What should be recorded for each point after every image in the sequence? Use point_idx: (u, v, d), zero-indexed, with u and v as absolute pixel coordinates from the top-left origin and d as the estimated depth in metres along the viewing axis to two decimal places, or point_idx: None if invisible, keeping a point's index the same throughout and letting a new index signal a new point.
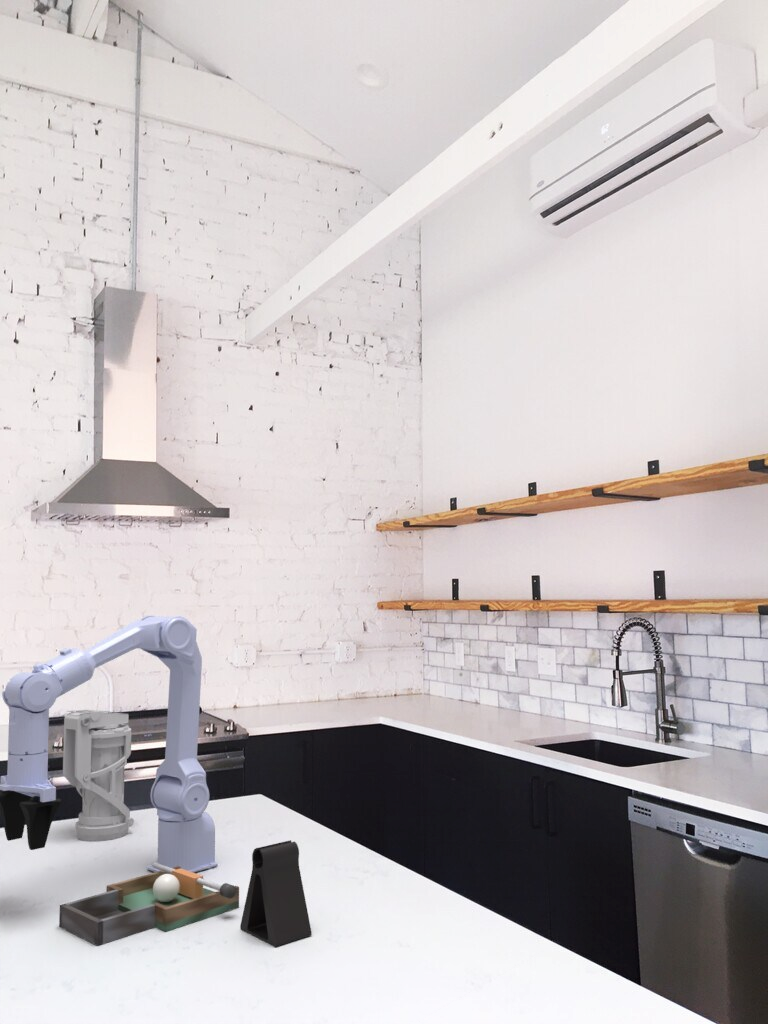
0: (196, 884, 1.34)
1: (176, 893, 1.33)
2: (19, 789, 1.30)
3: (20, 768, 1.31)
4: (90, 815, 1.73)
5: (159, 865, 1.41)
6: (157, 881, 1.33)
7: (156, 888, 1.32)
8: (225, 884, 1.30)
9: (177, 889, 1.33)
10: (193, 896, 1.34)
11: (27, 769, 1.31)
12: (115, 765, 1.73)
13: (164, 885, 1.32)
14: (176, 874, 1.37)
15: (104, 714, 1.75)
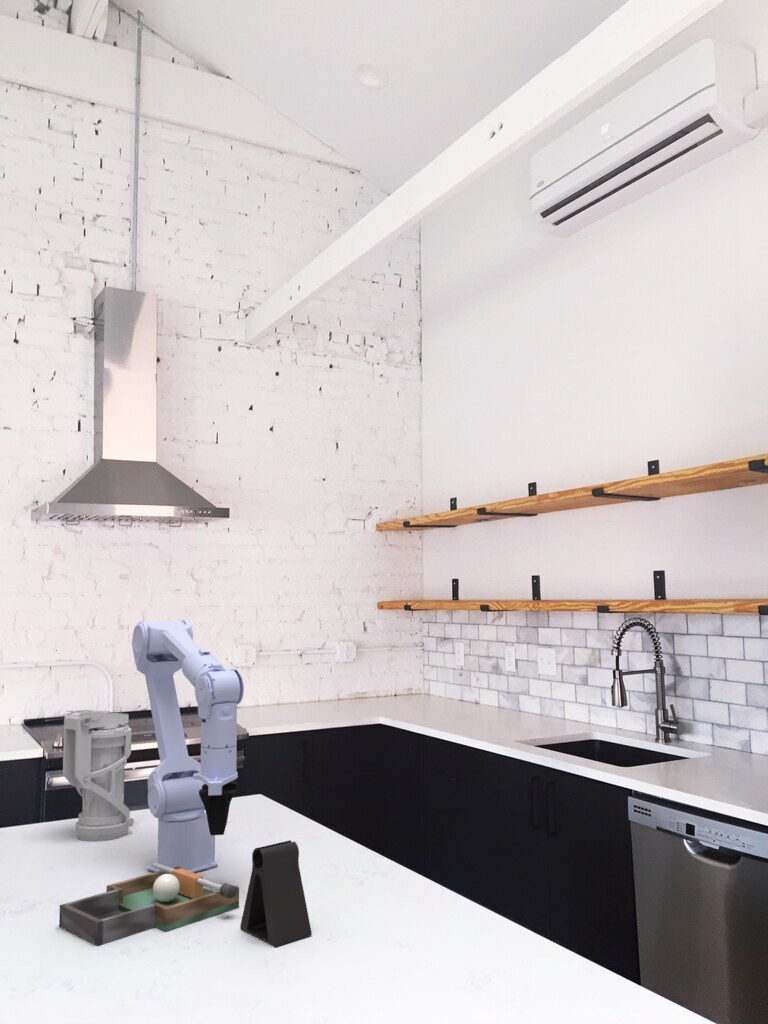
0: (196, 884, 1.34)
1: (176, 893, 1.33)
2: (202, 779, 1.39)
3: (204, 760, 1.40)
4: (90, 815, 1.73)
5: (159, 865, 1.41)
6: (157, 881, 1.33)
7: (156, 888, 1.32)
8: (225, 884, 1.30)
9: (177, 889, 1.33)
10: (193, 896, 1.34)
11: (209, 762, 1.40)
12: (115, 765, 1.73)
13: (164, 885, 1.32)
14: (176, 874, 1.37)
15: (104, 714, 1.75)
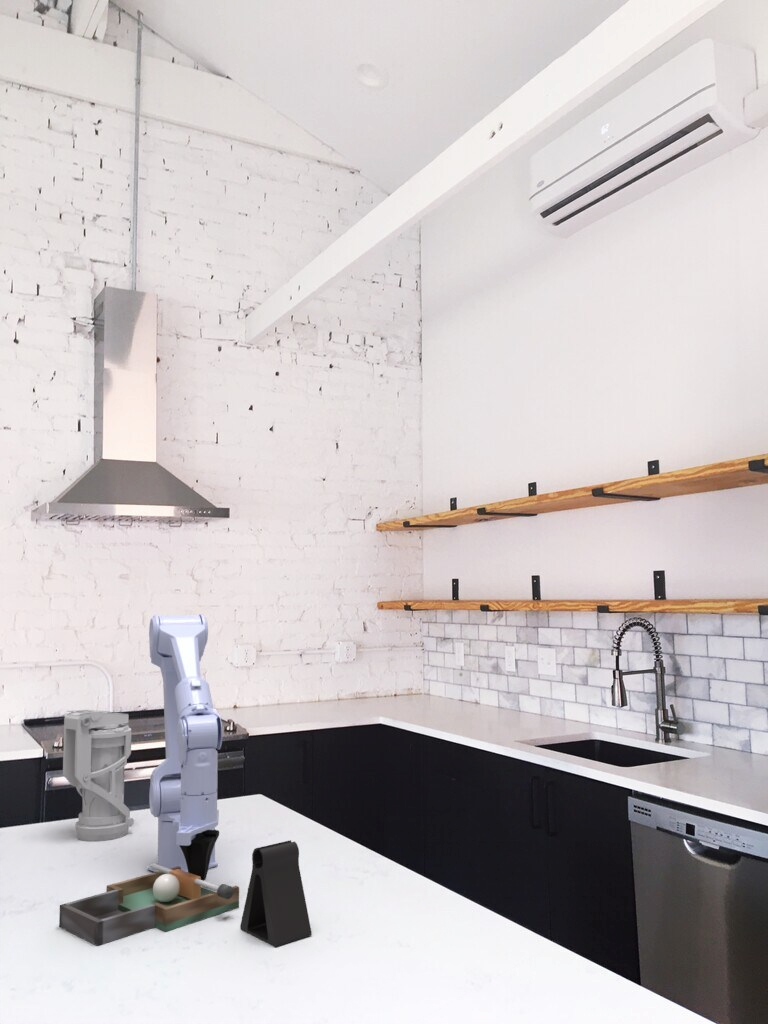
0: (194, 885, 1.34)
1: (176, 893, 1.33)
2: None
3: (182, 807, 1.37)
4: (90, 815, 1.73)
5: (157, 866, 1.41)
6: (157, 881, 1.33)
7: (156, 888, 1.32)
8: (223, 885, 1.29)
9: (177, 889, 1.33)
10: (191, 897, 1.33)
11: (185, 809, 1.36)
12: (115, 765, 1.73)
13: (164, 885, 1.32)
14: (174, 875, 1.37)
15: (104, 714, 1.75)
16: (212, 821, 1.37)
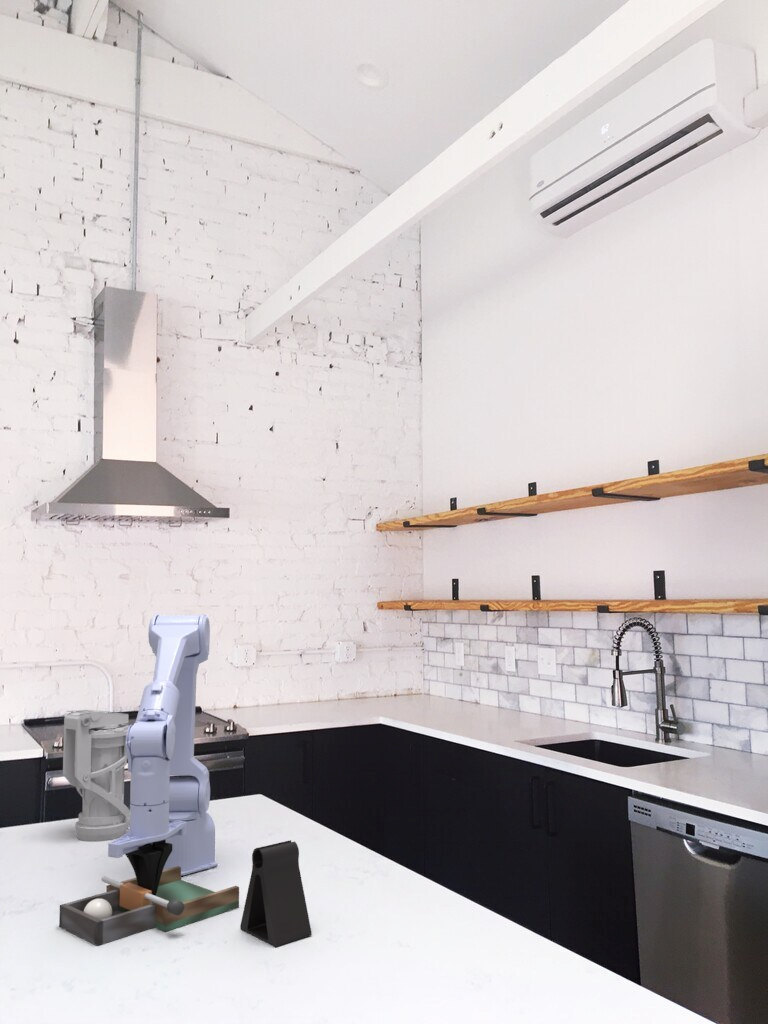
0: (144, 899, 1.27)
1: None
2: None
3: None
4: (90, 815, 1.73)
5: (108, 879, 1.34)
6: (92, 902, 1.25)
7: (88, 908, 1.24)
8: (172, 900, 1.23)
9: None
10: None
11: (131, 819, 1.31)
12: (115, 765, 1.73)
13: (98, 907, 1.24)
14: (124, 889, 1.30)
15: (104, 714, 1.75)
16: (157, 834, 1.30)
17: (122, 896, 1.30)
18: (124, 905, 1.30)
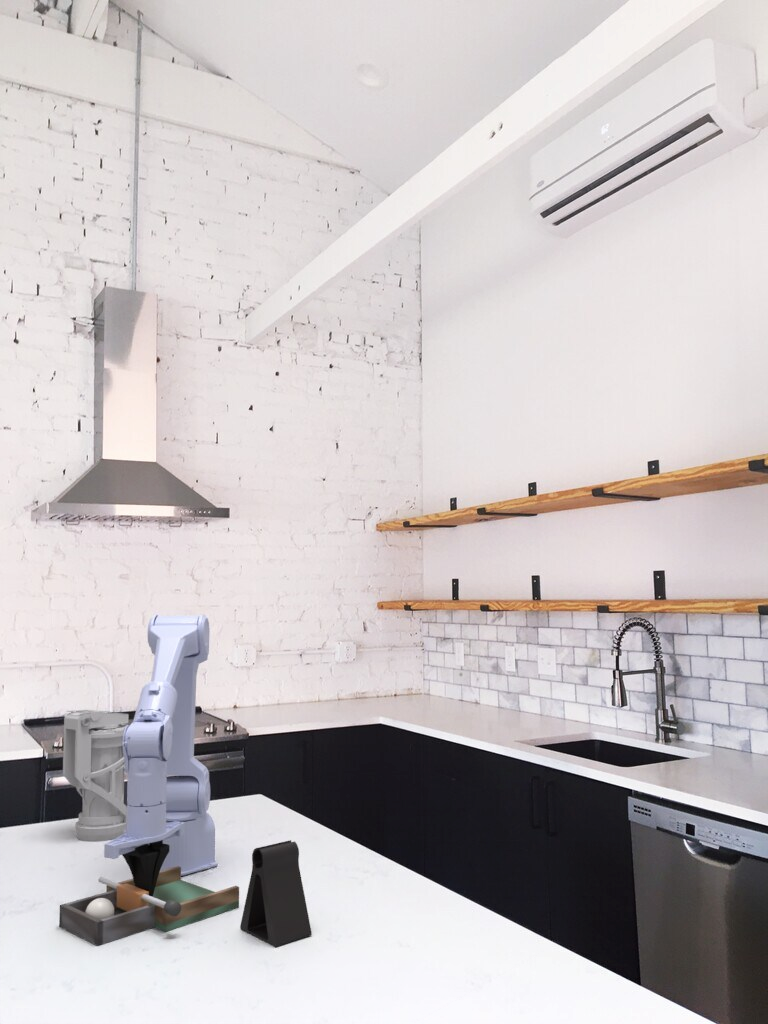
0: (141, 900, 1.27)
1: None
2: None
3: None
4: (90, 815, 1.73)
5: (105, 879, 1.34)
6: (96, 900, 1.25)
7: (92, 905, 1.24)
8: (169, 901, 1.23)
9: None
10: None
11: (127, 819, 1.30)
12: (115, 765, 1.73)
13: (101, 905, 1.24)
14: (121, 889, 1.30)
15: (104, 714, 1.75)
16: (153, 835, 1.29)
17: (119, 897, 1.30)
18: (121, 906, 1.30)
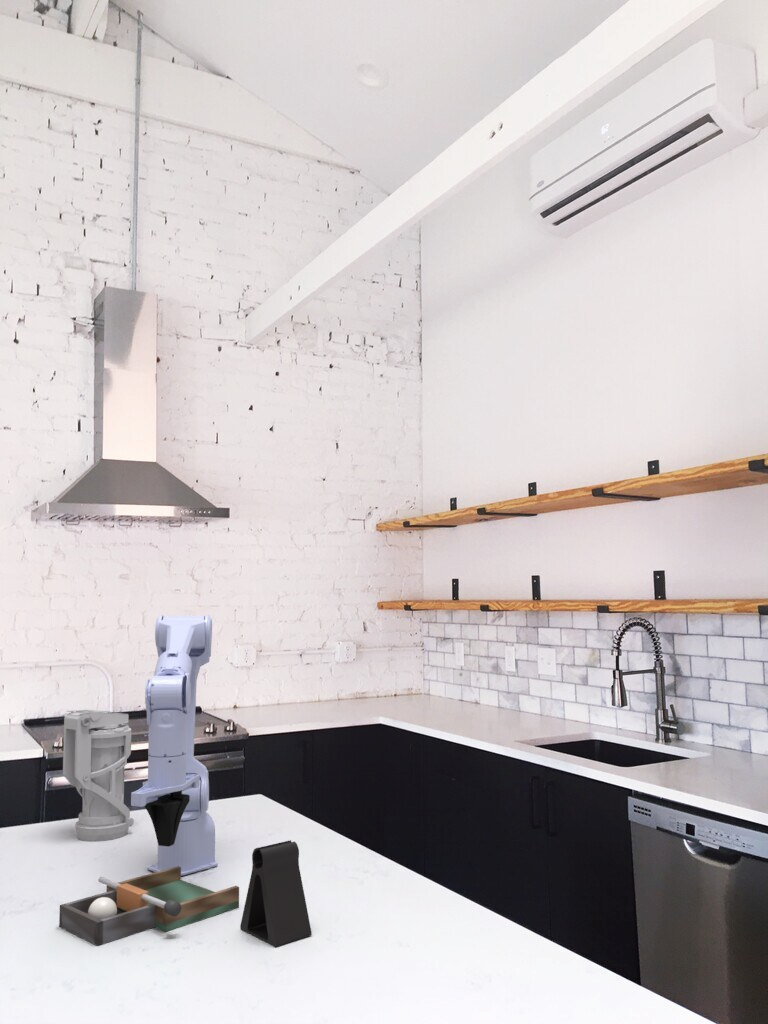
0: (141, 900, 1.27)
1: None
2: (144, 788, 1.33)
3: (148, 768, 1.34)
4: (90, 815, 1.73)
5: (105, 879, 1.34)
6: (101, 898, 1.26)
7: (97, 902, 1.25)
8: (169, 901, 1.23)
9: None
10: None
11: (150, 770, 1.33)
12: (115, 765, 1.73)
13: (106, 904, 1.25)
14: (121, 889, 1.30)
15: (104, 714, 1.75)
16: (176, 784, 1.33)
17: (119, 897, 1.30)
18: (121, 906, 1.30)
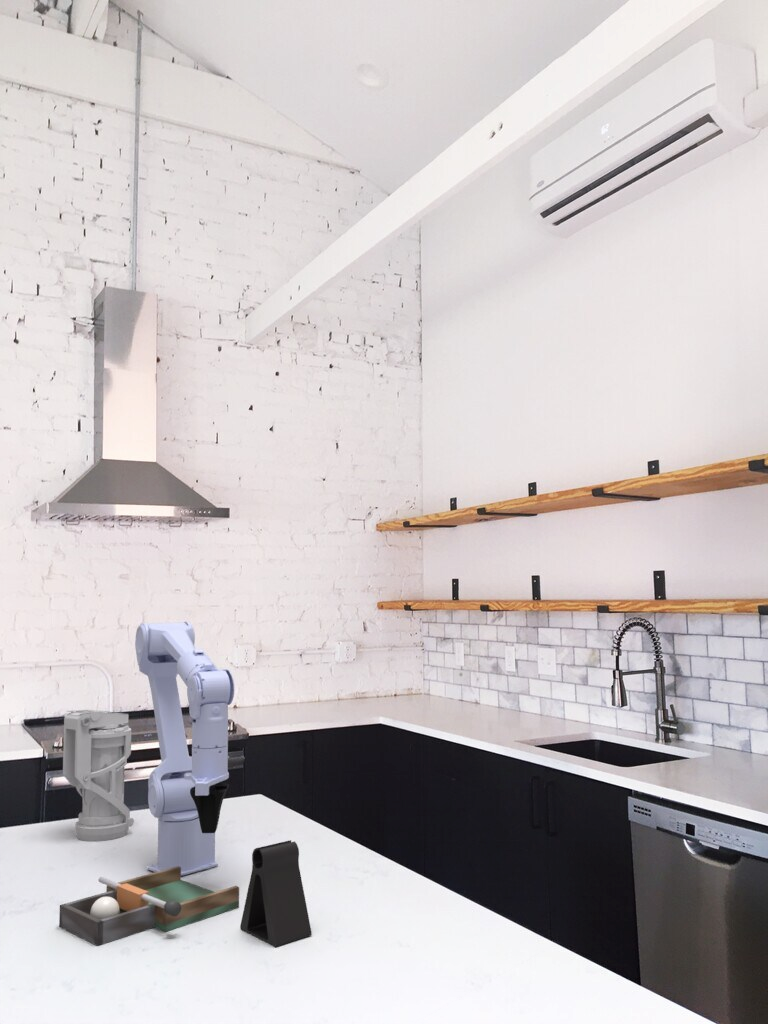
0: (141, 900, 1.27)
1: None
2: (192, 779, 1.39)
3: (194, 760, 1.40)
4: (90, 815, 1.73)
5: (105, 879, 1.34)
6: (106, 896, 1.26)
7: (101, 899, 1.25)
8: (169, 901, 1.23)
9: None
10: None
11: (199, 762, 1.40)
12: (115, 765, 1.73)
13: (110, 902, 1.25)
14: (121, 889, 1.30)
15: (104, 714, 1.75)
16: (224, 773, 1.41)
17: (119, 897, 1.30)
18: (121, 906, 1.30)
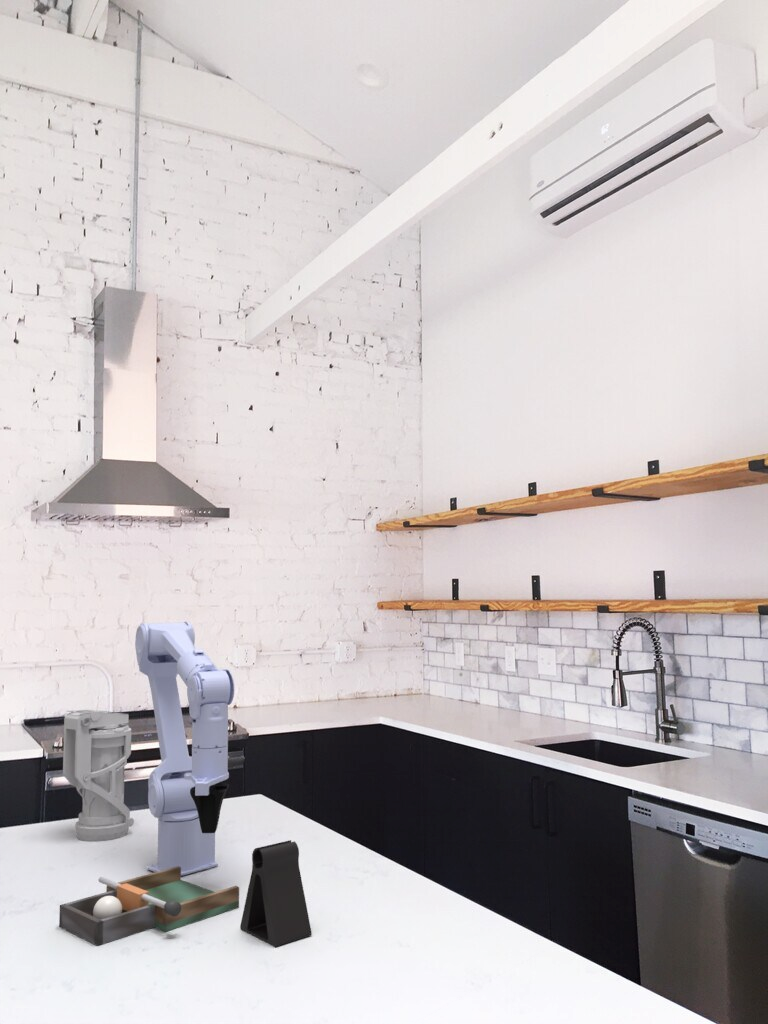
0: (141, 900, 1.27)
1: None
2: (192, 779, 1.39)
3: (194, 760, 1.40)
4: (90, 815, 1.73)
5: (105, 879, 1.34)
6: (111, 896, 1.27)
7: (107, 897, 1.26)
8: (169, 901, 1.23)
9: None
10: None
11: (199, 762, 1.40)
12: (115, 765, 1.73)
13: (115, 901, 1.26)
14: (121, 889, 1.30)
15: (104, 714, 1.75)
16: (224, 773, 1.41)
17: (119, 897, 1.30)
18: None
